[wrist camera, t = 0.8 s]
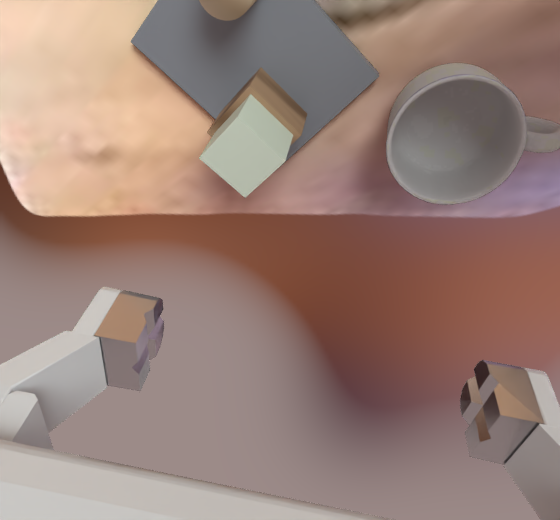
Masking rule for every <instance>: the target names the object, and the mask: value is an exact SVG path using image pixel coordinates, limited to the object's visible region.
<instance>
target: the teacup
mask: <svg viewBox="0 0 560 520" xmlns="http://www.w3.org/2000/svg"><path fill="white" fill-rule="evenodd" d="M559 148H560V125H559V124H558V123H555V122H553V121H550V120H546V119H541V118H536V117H530V116H525V113H524V110H523V108H522V105H521V103H520V102H519V100H518V99H517V97H516V96H515V94H514V93H513V92H512V91H511V90H510V89H508V88H507V87H506V86H504V84H503V83H502V82H501V81H500V80H499V79H498V78H496V77H495V76H494V75H492V74H491V73H490V72H488V71H486V70H485V69H482V68H480V67H477V66H475V65H471V64H465V63H449V64H444V65H440V66H436V67H433V68H431V69H428V70H426V71H424V72H423V73H421V74H419V75H418V76H417V77H415V78H414V79H413V80H412V81H410V82H409V83H408V84H407V85H406V86H405V87H404V89H403V90H402V91H401V93H400V94H399V96H398V97H397V99H396V101H395V103H394V105H393V107H392V109H391V112H390V116H389V121H388V128H387V141H386V158H387V163H388V166H389V169H390V171H391V173H392V175H393V177H394V178H395V180H396V181H397V182H398V183H399V185H400V186H401V187H402V188H403V189H404V190H406V191H407V192H408V193H410V194H411V195H413V196H414V197H416V198H418V199H421V200H424V201H426V202H430V203H435V204H442V205H447V204H451V205H453V204H459V203H465V202H469V201H472V200H475V199H478V198H480V197H482V196H484V195H486V194H488V193H490V192H491V191H493V190H494V189H496V188H497V187H498V186H500V185H501V184H502V183H503V182H504V181H505V180H506V179H507V178H508V177H509V175H510V174H511V173H512V171H513V170H514V168H515V167H516V165H517V164H518V162H519V160H520V157H521V155H522V153H523V151H524V150H525V151H530V152H536V153H549V152H553V151H556V150H558V149H559Z"/></svg>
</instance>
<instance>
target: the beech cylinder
mask: <svg viewBox="0 0 560 520" xmlns="http://www.w3.org/2000/svg"><path fill="white" fill-rule="evenodd" d="M199 1H200V3H201V5H202V6H203V8H204V9H205V10H206V11H207V12H208V13H209V14H210V15H211V16H213V17H215V18H217V19H220V20H224V21H230V20H235V19H237V18H239V17H241V16H242V15H243V14H244V13H245V12H246V11H247V10H248V9H249V8H250V7H251V6H252V5H253V4H254V3H255V2H256V1H257V0H199Z"/></svg>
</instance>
